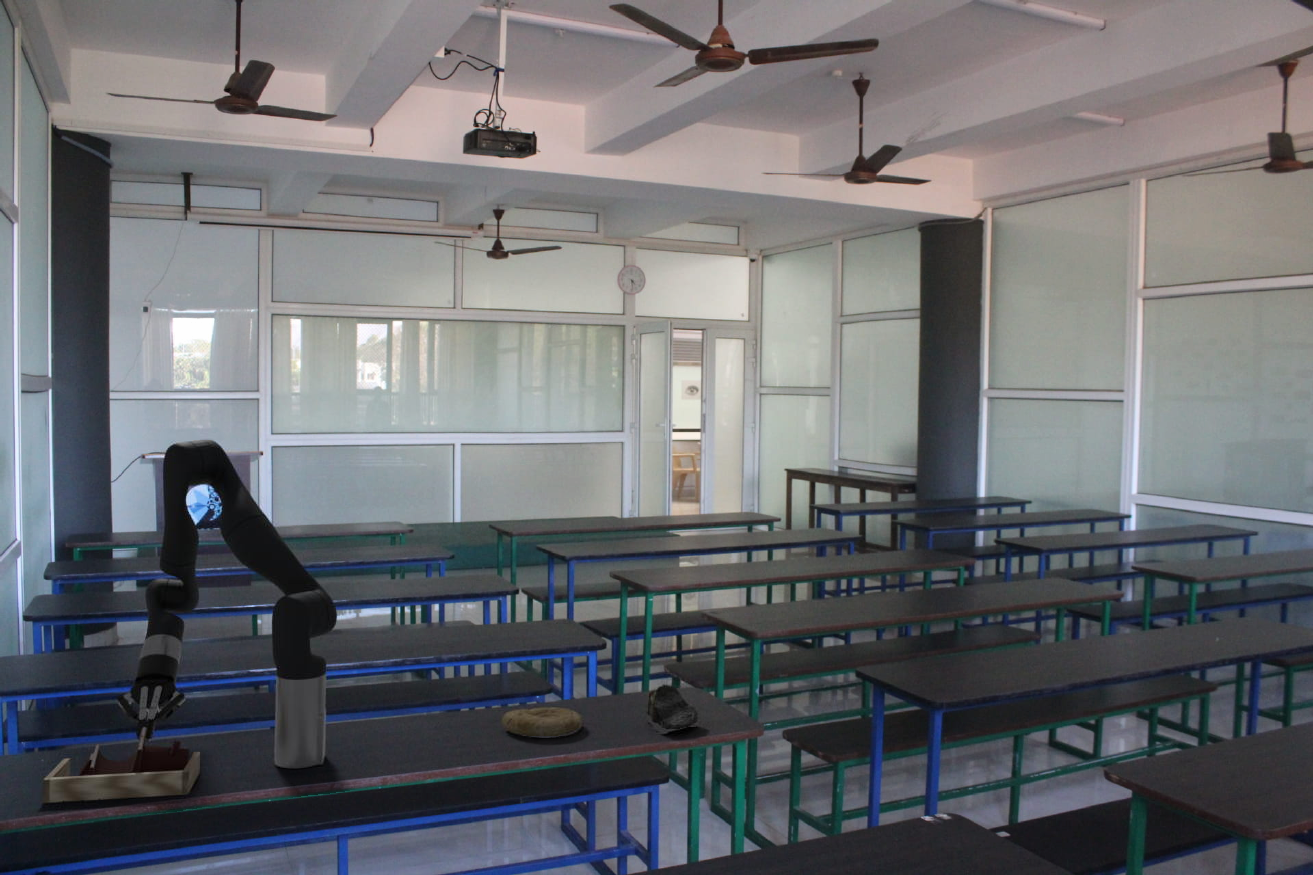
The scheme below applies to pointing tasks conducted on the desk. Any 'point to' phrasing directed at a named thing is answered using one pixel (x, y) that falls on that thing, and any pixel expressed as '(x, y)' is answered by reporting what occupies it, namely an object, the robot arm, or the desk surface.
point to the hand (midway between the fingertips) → (143, 740)
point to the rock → (670, 708)
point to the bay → (118, 783)
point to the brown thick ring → (542, 721)
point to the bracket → (139, 760)
